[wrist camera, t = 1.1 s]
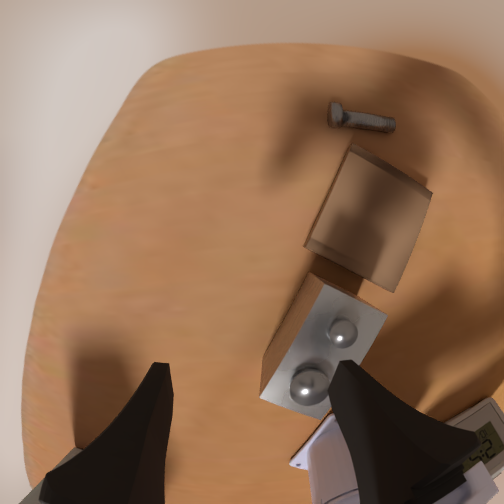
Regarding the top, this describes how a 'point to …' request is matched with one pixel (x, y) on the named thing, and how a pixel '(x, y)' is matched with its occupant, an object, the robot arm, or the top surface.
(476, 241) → the top surface
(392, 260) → the stand
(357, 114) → the loose bolt
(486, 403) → the digital clock
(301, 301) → the housing
